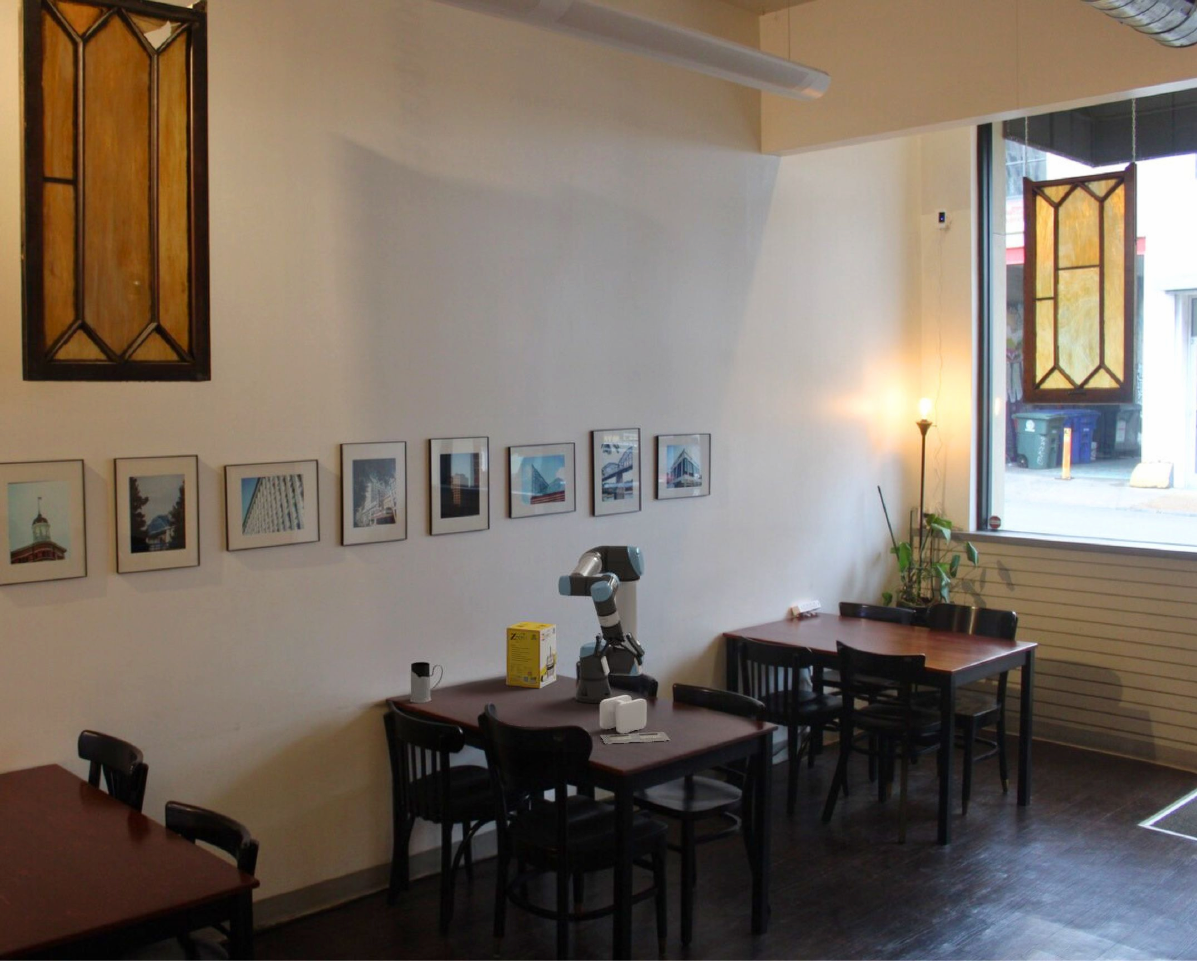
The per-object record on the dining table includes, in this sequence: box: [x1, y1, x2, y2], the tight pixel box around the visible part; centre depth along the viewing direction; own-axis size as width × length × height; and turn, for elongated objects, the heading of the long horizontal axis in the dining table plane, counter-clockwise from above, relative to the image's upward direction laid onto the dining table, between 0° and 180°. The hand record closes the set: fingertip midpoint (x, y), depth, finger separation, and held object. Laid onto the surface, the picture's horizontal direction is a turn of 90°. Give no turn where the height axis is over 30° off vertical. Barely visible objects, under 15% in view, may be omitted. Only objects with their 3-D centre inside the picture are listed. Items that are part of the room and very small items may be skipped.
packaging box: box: [505, 621, 557, 689], centre depth 496 cm, size 16×16×25 cm
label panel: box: [599, 731, 671, 745], centre depth 414 cm, size 10×24×1 cm, turn 100°
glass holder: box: [409, 661, 444, 704], centre depth 468 cm, size 9×14×15 cm, turn 121°
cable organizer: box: [599, 694, 648, 734], centre depth 425 cm, size 15×11×12 cm
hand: (623, 673), depth 421 cm, fingers open, 13 cm apart
